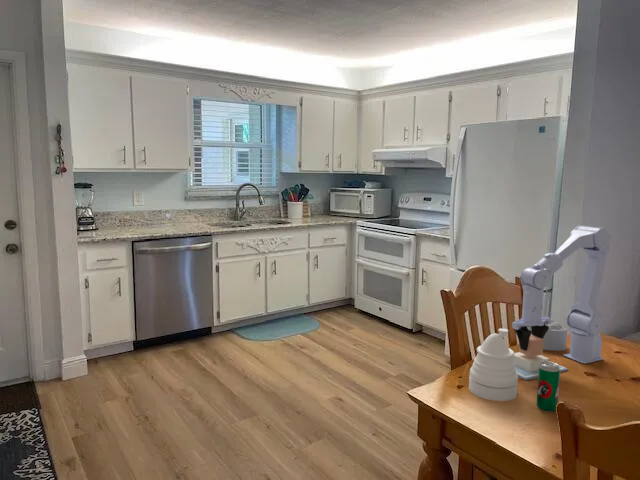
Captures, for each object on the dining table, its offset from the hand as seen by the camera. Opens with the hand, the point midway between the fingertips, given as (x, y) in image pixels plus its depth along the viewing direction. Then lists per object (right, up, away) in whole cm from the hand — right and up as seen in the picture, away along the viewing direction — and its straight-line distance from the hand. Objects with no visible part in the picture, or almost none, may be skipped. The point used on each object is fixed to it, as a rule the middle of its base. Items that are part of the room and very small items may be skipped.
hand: (529, 348), depth 154 cm
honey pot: (-17, -9, -16) cm, 25 cm away
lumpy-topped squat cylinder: (+15, -4, +21) cm, 26 cm away
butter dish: (0, -6, +1) cm, 6 cm away
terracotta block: (0, -2, 0) cm, 2 cm away
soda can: (-7, -10, -26) cm, 29 cm away
